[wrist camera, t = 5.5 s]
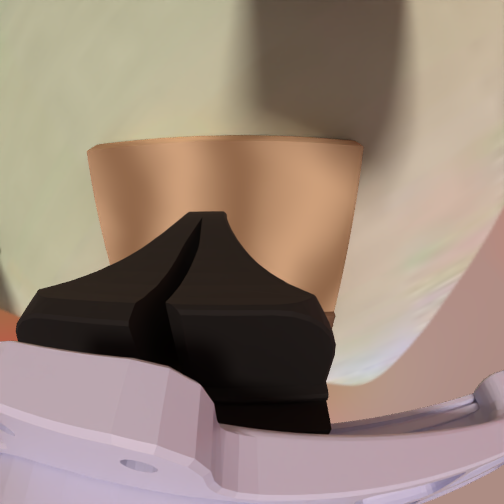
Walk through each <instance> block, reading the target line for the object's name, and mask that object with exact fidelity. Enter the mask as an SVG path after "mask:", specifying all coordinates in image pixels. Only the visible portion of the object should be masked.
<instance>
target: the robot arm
mask: <svg viewBox="0 0 504 504" xmlns="http://www.w3.org/2000/svg"><path fill="white" fill-rule="evenodd" d="M16 334H17V338H18V341H3V342H0V504H422V503H425V502H427V501H430V500H433V499H435V498H438V497H440V496H442V495H445V494H447V493H449V492H452V491H454V490H456V489H458V488H461V487H462V486H465V485H467V484H469V483H471V482H473V481H475V480H477V479H479V478H481V477H483V476H485V475H487V474H489V473H491V472H493V471H494V470H496V469H498V468H499V467H501V466H502V465H504V370H502V371H499V372H496V373H493V374H491V375H489V376H488V377H486V378H485V379H484V380H483V381H482V382H481V383H480V384H479V385H478V387H477V388H476V389H475V391H474V393H472V394H469V395H466V396H463V397H460V398H457V399H453V400H449V401H446V402H442V403H439V404H435V405H431V406H427V407H423V408H419V409H415V410H411V411H406V412H401V413H397V414H391V415H386V416H381V417H375V418H369V419H363V420H357V421H350V422H342V423H334V424H331V423H330V418H329V413H328V407H327V402H326V400H327V399H328V389H327V384H326V380H327V377H328V374H329V371H330V368H331V365H332V362H333V358H334V355H335V347H336V343H335V340H334V335H333V331H332V328H331V326H330V323H329V321H328V319H327V317H326V315H325V312H324V310H323V309H322V307H321V305H320V303H319V301H318V299H317V297H316V296H315V295H314V294H311V293H309V292H307V291H304V290H302V289H300V288H297V287H295V286H293V285H290V284H289V283H287V282H285V281H283V280H281V279H280V278H278V277H276V276H275V275H273V274H272V273H270V272H269V271H267V270H266V269H265V268H263V267H262V266H261V265H259V264H258V263H257V262H256V261H255V260H254V259H253V258H252V257H251V256H250V255H249V254H248V252H247V251H246V250H245V249H244V248H243V246H242V245H241V244H240V242H239V241H238V239H237V238H236V236H235V234H234V233H233V231H232V229H231V227H230V225H229V223H228V220H227V214H226V213H225V212H224V211H197V212H188V213H187V214H185V215H184V216H183V217H182V218H180V219H179V220H178V221H177V222H176V223H174V224H173V225H172V226H171V227H169V228H168V229H167V230H166V231H165V232H163V233H162V234H161V235H159V236H158V237H156V238H155V239H154V240H152V241H151V242H150V243H148V244H147V245H145V246H144V247H142V248H141V249H139V250H138V251H136V252H134V253H133V254H131V255H129V256H128V257H126V258H124V259H122V260H120V261H118V262H116V263H114V264H112V265H110V266H108V267H105V268H103V269H101V270H99V271H97V272H94V273H92V274H89V275H86V276H84V277H81V278H78V279H75V280H72V281H69V282H66V283H62V284H58V285H55V286H51V287H47V288H43V289H39V290H38V291H37V293H36V294H35V296H34V297H33V299H32V300H31V302H30V303H29V305H28V306H27V308H26V310H25V311H24V313H23V314H22V316H21V317H20V319H19V321H18V323H17V326H16Z"/></svg>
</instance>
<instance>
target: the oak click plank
mask: <svg viewBox="0 0 504 504" xmlns="http://www.w3.org/2000/svg"><path fill="white" fill-rule="evenodd" d="M363 148H364V147H363V146H362V145H360V144H359V143H358V142H356V141H353V140H341V139H329V138H314V137H294V136H259V135H228V136H192V137H173V138H158V139H146V140H135V141H125V142H115V143H107V144H99V145H96V146H94V147H93V148H91V149H89V150H88V151H87V156H88V162H89V169H90V175H91V180H92V186H93V191H94V197H95V202H96V207H97V212H98V216H99V221H100V225H101V230H102V234H103V238H104V242H105V246H106V250H107V254H108V258H109V262H110V265H112V264H114V263H116V262H118V261H120V260H122V259H124V258H126V257H128V256H129V255H131V254H133V253H134V252H136V251H138V250H139V249H141V248H142V247H144V246H145V245H147V244H148V243H150V242H151V241H152V240H154V239H155V238H156V237H158V236H159V235H161V234H162V233H163V232H165V231H166V230H167V229H168V228H169V227H171V226H172V225H173V224H174V223H176V222H177V221H178V220H179V219H180V218H182V217H183V216H184V215H185V214H187V213H188V212H197V211H224V212H225V213H226V214H227V220H228V223H229V225H230V227H231V229H232V231H233V233H234V234H235V236H236V238H237V239H238V241H239V242H240V244H241V245H242V246H243V248H244V249H245V250H246V251H247V252H248V254H249V255H250V256H251V257H252V258H253V259H254V260H255V261H256V262H257V263H258V264H259V265H261V266H262V267H263V268H265V269H266V270H267V271H269V272H270V273H272V274H273V275H275V276H276V277H278V278H280V279H281V280H283V281H285V282H287V283H289V284H290V285H293V286H295V287H297V288H300V289H302V290H304V291H307V292H309V293H311V294H314V295H315V296H316V297H317V299H318V301H319V303H320V305H321V307H322V309H323V310H324V312H331V311H334V309H335V305H336V301H337V297H338V292H339V288H340V283H341V279H342V274H343V269H344V264H345V259H346V254H347V249H348V244H349V239H350V233H351V228H352V222H353V216H354V210H355V204H356V198H357V192H358V185H359V178H360V171H361V163H362V156H363Z"/></svg>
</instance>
